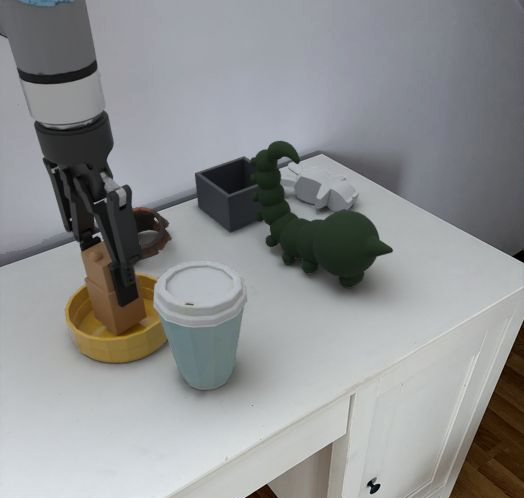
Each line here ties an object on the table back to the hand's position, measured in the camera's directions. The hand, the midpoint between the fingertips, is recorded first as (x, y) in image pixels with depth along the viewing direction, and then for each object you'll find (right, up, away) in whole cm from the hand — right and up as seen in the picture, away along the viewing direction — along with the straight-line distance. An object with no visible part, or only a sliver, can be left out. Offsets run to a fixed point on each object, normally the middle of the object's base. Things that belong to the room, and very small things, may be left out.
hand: (114, 291), depth 74 cm
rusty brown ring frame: (-1, +9, +19) cm, 21 cm away
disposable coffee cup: (+13, -11, -2) cm, 17 cm away
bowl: (0, -5, +4) cm, 6 cm away
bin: (+15, +17, +26) cm, 35 cm away
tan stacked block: (0, -3, +3) cm, 5 cm away
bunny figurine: (+29, +20, +29) cm, 46 cm away
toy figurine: (+28, +5, +14) cm, 32 cm away
